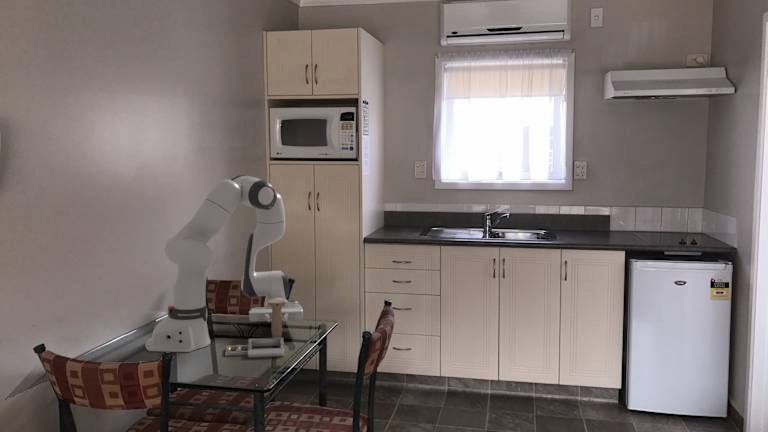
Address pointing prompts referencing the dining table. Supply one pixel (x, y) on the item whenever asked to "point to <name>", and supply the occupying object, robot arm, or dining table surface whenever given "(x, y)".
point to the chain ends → (258, 352)
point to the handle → (276, 317)
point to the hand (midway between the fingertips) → (276, 320)
